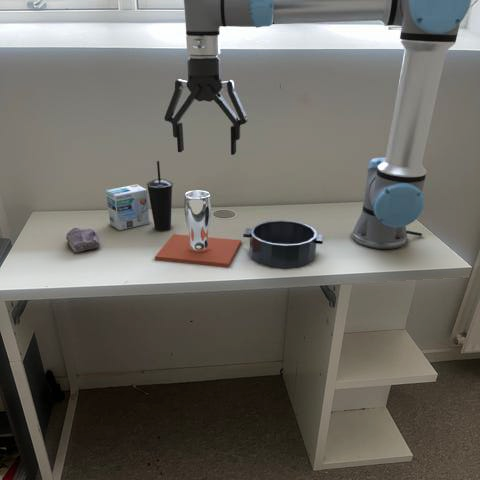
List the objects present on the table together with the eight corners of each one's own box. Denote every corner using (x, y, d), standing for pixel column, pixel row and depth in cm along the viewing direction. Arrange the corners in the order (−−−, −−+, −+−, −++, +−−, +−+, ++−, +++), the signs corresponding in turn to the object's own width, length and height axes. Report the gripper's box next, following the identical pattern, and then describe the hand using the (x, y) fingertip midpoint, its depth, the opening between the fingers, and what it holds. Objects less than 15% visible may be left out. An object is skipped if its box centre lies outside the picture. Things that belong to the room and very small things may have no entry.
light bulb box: (119, 231, 151) (115, 195, 145) (109, 224, 155) (104, 190, 150) (150, 223, 157) (147, 189, 151) (140, 217, 161) (136, 183, 155)
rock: (91, 235, 148) (89, 220, 145) (103, 249, 139) (101, 234, 137) (63, 241, 144) (60, 226, 142) (74, 256, 136) (71, 240, 133)
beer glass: (188, 254, 135) (186, 199, 127) (184, 244, 141) (182, 191, 133) (214, 251, 136) (213, 197, 128) (209, 242, 142) (208, 189, 134)
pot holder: (241, 243, 144) (241, 240, 143) (228, 267, 131) (228, 263, 130) (174, 237, 147) (173, 233, 147) (155, 259, 134) (154, 256, 134)
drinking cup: (171, 233, 150) (166, 165, 139) (146, 231, 151) (140, 163, 140) (178, 224, 156) (175, 158, 145) (155, 222, 157) (149, 157, 147)
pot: (323, 245, 143) (325, 223, 140) (318, 272, 129) (321, 248, 125) (250, 238, 147) (251, 217, 143) (238, 264, 132) (238, 241, 129)
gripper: (145, 57, 114) (154, 153, 125) (254, 58, 110) (253, 158, 121) (157, 54, 121) (164, 146, 132) (260, 56, 116) (258, 150, 127)
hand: (207, 152), depth 126 cm, fingers open, 13 cm apart
